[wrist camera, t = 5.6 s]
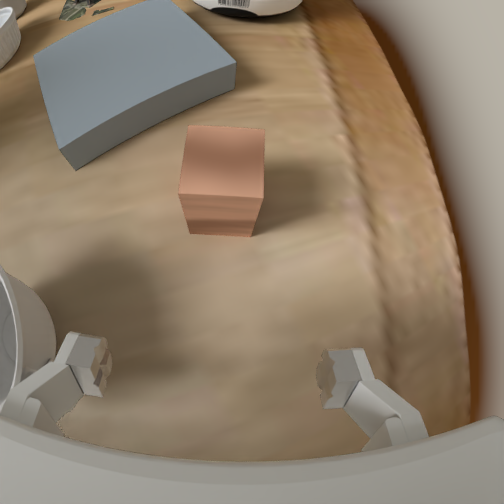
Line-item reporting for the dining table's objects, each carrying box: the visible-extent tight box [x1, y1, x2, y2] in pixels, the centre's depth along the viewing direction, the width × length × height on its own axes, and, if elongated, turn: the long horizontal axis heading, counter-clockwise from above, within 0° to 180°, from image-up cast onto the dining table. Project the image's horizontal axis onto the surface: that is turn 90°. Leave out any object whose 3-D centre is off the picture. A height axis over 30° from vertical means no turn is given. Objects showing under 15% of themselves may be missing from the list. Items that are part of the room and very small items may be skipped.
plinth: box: [33, 0, 237, 171], centre depth 27 cm, size 18×18×4 cm
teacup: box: [0, 265, 77, 413], centre depth 17 cm, size 12×15×10 cm
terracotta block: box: [178, 125, 265, 237], centre depth 23 cm, size 5×5×8 cm
